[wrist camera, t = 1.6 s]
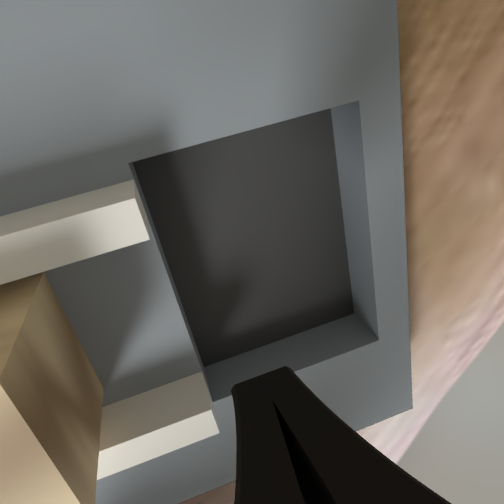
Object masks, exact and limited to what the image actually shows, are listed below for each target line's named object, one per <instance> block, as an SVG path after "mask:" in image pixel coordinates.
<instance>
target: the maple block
mask: <svg viewBox="0 0 504 504" xmlns="http://www.w3.org/2000/svg"><path fill="white" fill-rule="evenodd" d="M103 390H104V388H103V386H102V384H101V382H100V380H99V379H98V377H97V375H96V373H95V371H94V369H93V367H92V365H91V363H90V361H89V359H88V357H87V355H86V353H85V351H84V349H83V348H82V346H81V344H80V342H79V340H78V338H77V336H76V334H75V332H74V330H73V328H72V326H71V324H70V322H69V320H68V318H67V316H66V315H65V313H64V311H63V309H62V307H61V305H60V303H59V301H58V299H57V297H56V295H55V293H54V291H53V289H52V287H51V285H50V284H49V282H48V280H47V278H46V276H45V274H44V272H42V273H39V274H36V275H32V276H29V277H26V278H23V279H19V280H16V281H13V282H9V283H6V284H3V285H0V504H95V497H96V484H97V471H98V457H99V444H100V430H101V417H102V404H103Z"/></svg>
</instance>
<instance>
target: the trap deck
mask: <svg viewBox="0 0 504 504" xmlns="http://www.w3.org/2000/svg"><path fill="white" fill-rule="evenodd" d="M42 272H44V274H45V276H46V278H47V280H48V282H49V284H50V285H51V287H52V289H53V291H54V293H55V295H56V297H57V299H58V301H59V303H60V305H61V307H62V309H63V311H64V313H65V315H66V316H67V318H68V320H69V322H70V324H71V326H72V328H73V330H74V332H75V334H76V336H77V338H78V340H79V342H80V344H81V346H82V348H83V349H84V351H85V353H86V355H87V357H88V359H89V361H90V363H91V365H92V367H93V369H94V371H95V373H96V375H97V377H98V379H99V380H100V382H101V384H102V386H103V388H104V390H103V404H102V417H101V430H100V444H99V457H98V471H97V484H96V497H95V504H179V503H181V502H184V501H186V500H188V499H191V498H193V497H196V496H198V495H201V494H203V493H206V492H208V491H211V490H213V489H215V488H218V487H220V486H223V485H225V484H228V483H230V482H233V481H235V480H236V421H235V410H234V403H233V398H232V394H231V389H232V387H233V386H234V385H235V384H238V383H240V382H243V381H246V380H248V379H251V378H254V377H257V376H259V375H262V374H265V373H267V372H270V371H273V370H276V369H278V368H281V367H284V366H287V367H289V368H291V369H292V370H293V371H294V373H295V374H296V375H297V376H298V377H299V378H300V379H301V381H302V382H303V383H304V384H305V385H306V386H307V387H308V388H309V389H310V390H311V391H312V392H313V393H314V394H315V395H316V396H317V397H318V398H319V399H320V400H321V401H322V402H323V403H324V404H325V405H326V406H327V407H328V408H329V409H330V410H332V411H333V412H334V413H335V414H336V415H337V416H338V417H339V418H340V419H342V420H343V421H344V422H345V423H346V424H347V425H348V426H350V427H351V428H352V429H353V430H354V431H355V432H356V431H358V430H360V429H363V428H365V427H368V426H370V425H373V424H375V423H378V422H380V421H383V420H385V419H387V418H390V417H392V416H395V415H397V414H400V413H402V412H405V411H407V410H410V409H412V408H413V404H412V378H411V352H410V325H409V299H408V272H407V246H406V220H405V193H404V167H403V140H402V114H401V87H400V61H399V35H398V8H397V0H0V285H3V284H6V283H9V282H13V281H16V280H19V279H23V278H26V277H29V276H32V275H36V274H39V273H42Z"/></svg>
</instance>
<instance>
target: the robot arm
mask: <svg viewBox="0 0 504 504" xmlns="http://www.w3.org/2000/svg"><path fill="white" fill-rule="evenodd" d="M231 394H232V398H233V403H234V410H235V421H236V488H235V502H234V504H451V503H450V502H448V501H447V500H445V499H444V498H442V497H441V496H439V495H438V494H437V493H435V492H434V491H432V490H431V489H429V488H428V487H426V486H425V485H423V484H422V483H421V482H419V481H418V480H417V479H415V478H414V477H412V476H411V475H410V474H408V473H407V472H405V471H404V470H403V469H402V468H400V467H399V466H398V465H396V464H395V463H394V462H392V461H391V460H390V459H389V458H387V457H386V456H385V455H383V454H382V453H381V452H380V451H378V450H377V449H376V448H375V447H373V446H372V445H371V444H370V443H368V442H367V441H366V440H365V439H364V438H362V437H361V436H360V435H359V434H358V433H357V432H355V431H354V430H353V429H352V428H351V427H350V426H348V425H347V424H346V423H345V422H344V421H343V420H342V419H340V418H339V417H338V416H337V415H336V414H335V413H334V412H333V411H332V410H330V409H329V408H328V407H327V406H326V405H325V404H324V403H323V402H322V401H321V400H320V399H319V398H318V397H317V396H316V395H315V394H314V393H313V392H312V391H311V390H310V389H309V388H308V387H307V386H306V385H305V384H304V383H303V382H302V381H301V379H300V378H299V377H298V376H297V375H296V374H295V373H294V371H293V370H292V369H291V368H289V367H287V366H284V367H281V368H278V369H276V370H273V371H270V372H267V373H265V374H262V375H259V376H257V377H254V378H251V379H248V380H246V381H243V382H240V383H238V384H235V385H234V386H233V387H232V389H231Z"/></svg>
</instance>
